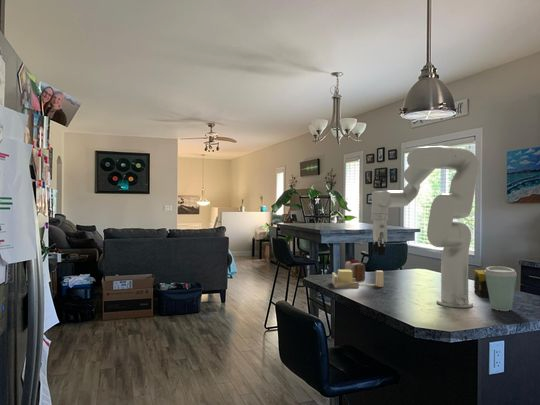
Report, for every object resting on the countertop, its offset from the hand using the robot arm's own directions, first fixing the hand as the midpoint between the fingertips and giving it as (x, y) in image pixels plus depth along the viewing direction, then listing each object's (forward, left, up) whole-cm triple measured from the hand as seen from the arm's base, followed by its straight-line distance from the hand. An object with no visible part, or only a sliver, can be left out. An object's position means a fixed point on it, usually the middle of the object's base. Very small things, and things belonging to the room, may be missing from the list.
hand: (378, 253), depth 189 cm
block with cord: (0, +9, -15) cm, 17 cm away
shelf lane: (0, +16, -15) cm, 22 cm away
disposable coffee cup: (-39, -36, -15) cm, 55 cm away
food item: (+19, +8, -15) cm, 25 cm away
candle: (-16, -43, -15) cm, 48 cm away
